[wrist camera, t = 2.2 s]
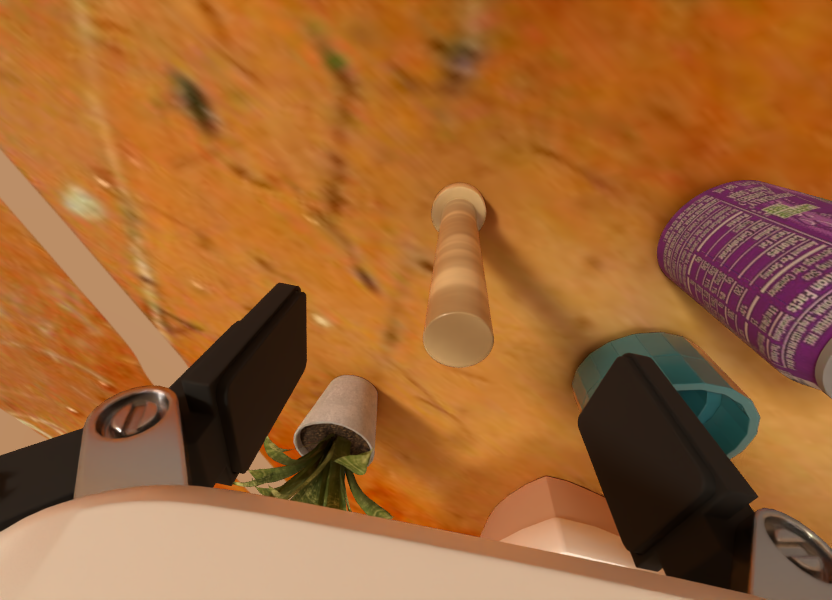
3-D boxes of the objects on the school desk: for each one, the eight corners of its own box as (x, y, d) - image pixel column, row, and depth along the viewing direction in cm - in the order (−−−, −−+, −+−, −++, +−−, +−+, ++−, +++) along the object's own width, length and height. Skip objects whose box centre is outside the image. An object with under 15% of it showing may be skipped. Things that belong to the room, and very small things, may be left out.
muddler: (438, 177, 22) (410, 280, 9) (491, 188, 22) (535, 306, 9) (427, 229, 24) (393, 371, 11) (477, 239, 24) (497, 392, 11)
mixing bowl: (602, 316, 26) (637, 369, 21) (732, 342, 26) (800, 402, 21) (551, 403, 31) (570, 462, 26) (659, 425, 31) (699, 489, 26)
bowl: (530, 420, 33) (558, 542, 24) (716, 506, 36) (800, 640, 27) (420, 516, 45) (410, 622, 36) (568, 573, 48) (593, 682, 39)
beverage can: (778, 259, 22) (1052, 396, 12) (658, 295, 24) (803, 436, 14) (779, 155, 19) (1148, 220, 9) (643, 208, 21) (812, 307, 11)
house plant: (326, 298, 28) (193, 497, 14) (454, 379, 31) (450, 607, 17) (265, 388, 35) (135, 582, 21) (375, 447, 38) (326, 649, 24)
